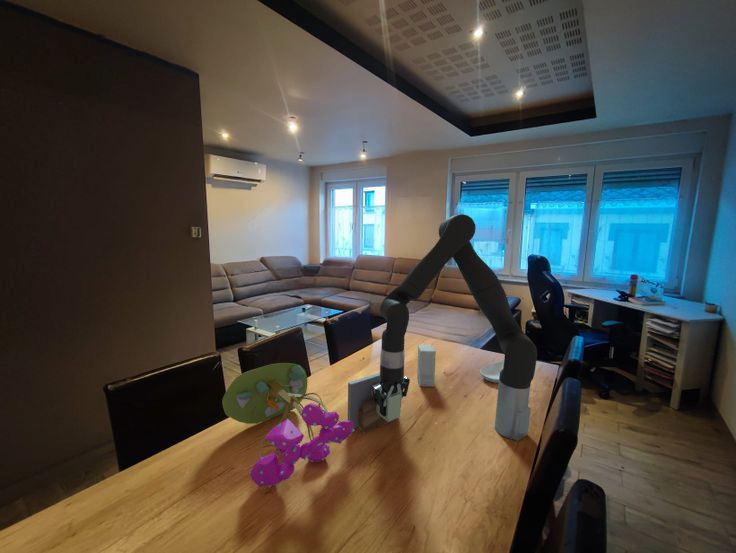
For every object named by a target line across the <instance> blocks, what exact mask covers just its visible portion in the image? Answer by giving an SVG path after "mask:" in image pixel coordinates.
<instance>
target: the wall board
mask: <svg viewBox="0 0 736 553" xmlns="http://www.w3.org/2000/svg"><path fill="white" fill-rule="evenodd" d="M380 381H381V377H380V372H377V373H375V374H370V375H367V376H365V377H361V378H359V379H355V380H351V381H348V382H347V421H353V422H354V426H353V429H354V430H355V429H356V428H358V409H360V408H362V407H363V403H365V402H368V401H370V400H373V399H374V397H373V395H372V385H375V384H378V383H380Z"/></svg>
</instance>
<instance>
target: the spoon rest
mask: <svg viewBox="0 0 736 553" xmlns="http://www.w3.org/2000/svg"><path fill="white" fill-rule="evenodd" d="M503 366H504V359H502V360H499V361H496V362H493V363H489V364H488V365H484V366H482V367H481V368H480V369H479V373H480V375H481V376H482V377H483V379H485V380H486V381H488V382H490V383H494V384H495V383H496V384H499V376H500V371H501V370H502V369H503Z"/></svg>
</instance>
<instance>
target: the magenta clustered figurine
mask: <svg viewBox="0 0 736 553" xmlns="http://www.w3.org/2000/svg"><path fill="white" fill-rule="evenodd" d="M307 390H310V389H308V376H307V372H306V370H305V369H304V368H303V366H301V364H296V363H294V362H293V363H291V362H279V363H278V362H277V363H271V364H267V365H264V366H261V367H257V368H254V369H253V368H252V369H251V370H248V371H245V372H243V373H240V374H239V375H238V376H237V377H236V378H234V379H233V381H232V382H231V383H230V385H229V386H228V388H227V390H226V391H225V392H224V393H225V394H224V395H223V397H222V401H221V404H222V408H223V411H224V414H225V415H226V416H227V417H229V418H231V419H232V420H235V421H236V422H238V423H243V424H247V425H251V424H253V425H254V424H260V423H262V422H265V421H268V420H270V419H273V418H277V417H279V416H281V415H282V416H281V418H280V419H279V421H278V422H277V423H276V424H275V426H273V428H272V429H271V430H270V431H269V432H268V433H267V434H266V436H265V439H264V441H263V442H262V445H261V447H260V449H259V453H258V455H259V456H258V457H259V458H258V459H257V461H255V462H254V465H253V467H252V469H251V470H249V472H248V473H249V475H250V478H251V480H252V481H253V483H254V484H255V485H257V486H259V487H266V486H268V488H272V486H274V485H277V486H278V485H279V484H281V482H282V481H287V480H289V479H290V477H291V476H292V475H293V474H294V473H296V472H295V471H296V470H295V464H297V462H298V461H299V460H300V459H301V460H304V461H306V460H308V461H310V462H311V463H313V462H314V463H320V462H321V461H325V459H326V458H328V456H329V455H330V454H331V450H330V443H336V444H342V443H343V442H345V440H346V439H347V438H349V436H351V435H352V434H353V432H355V428H354V429H353V426H354V422H353V421H348V420H339V418H340V416H339V413H338V412H337V411H329V410H328V408H327V406H326V405H325V404H324V403H323V401H322V398H321V396H320V394H318V393H316V392H309V393H308V392H307ZM312 395H315V396H317V397H318V398H319V399H320V400H319V399H318V398H315V397H313V396H312ZM303 399H304V400H309V401H313V402H315V403H312V402H311V403H308V404H305V406H303V404H302V403H301V402H302V400H303ZM321 406H322V407H321ZM295 409H296V411H297V412H298V413H299V415H300V417H301V418H302V420H303V421H304V423H305V426H306V427H307V428H306V429H307V433H308V438H309V440H310V441H309V442H304V443H303V442H302V441H303V439H304V437H305V435H304V433H303V432H302V431H301V430H300V429H299V428H298V427H297V426H296V425H295V424H294V422H292V421H291V420H290V419H289V413H290V412H291V411H293V410H295ZM312 426H313V427H316V426H321V428H320V430H319V433H318V435H317V436H315V437H314V432H313V429H312ZM311 436H312V438H311ZM267 442H269V443H271V444H267ZM301 443H302V445H300V444H301ZM266 444H267V445H266ZM328 444H329V445H328ZM268 447H274V448H275V449H276V451H277V452H278V454H277V453H275V452H273V453H270V454H267V455H265V456H262V452H263V449H265V448H268ZM278 455H280V457H281V459H282V460H281V462H280V461H279V456H278ZM283 460H284V462H283Z"/></svg>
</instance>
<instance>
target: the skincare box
mask: <svg viewBox="0 0 736 553" xmlns="http://www.w3.org/2000/svg"><path fill="white" fill-rule="evenodd" d="M436 352H437V351H436V349H435V348H434V346H433V344H418V345H417V374H416V375H417V376H416V379H417V382H418V385H419V387H423V388H424V387H433V388H434V387H435V383H436V382H435V379H436V378H435V377H436V375H435V374H436Z"/></svg>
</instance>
